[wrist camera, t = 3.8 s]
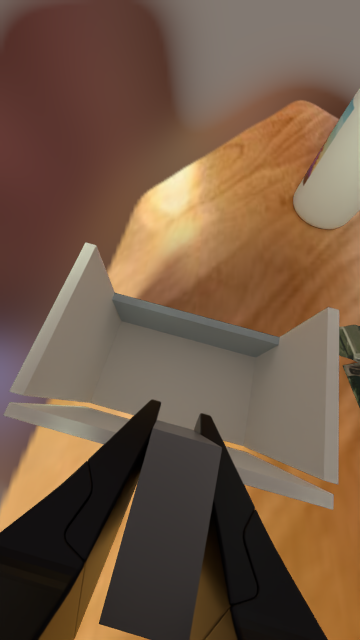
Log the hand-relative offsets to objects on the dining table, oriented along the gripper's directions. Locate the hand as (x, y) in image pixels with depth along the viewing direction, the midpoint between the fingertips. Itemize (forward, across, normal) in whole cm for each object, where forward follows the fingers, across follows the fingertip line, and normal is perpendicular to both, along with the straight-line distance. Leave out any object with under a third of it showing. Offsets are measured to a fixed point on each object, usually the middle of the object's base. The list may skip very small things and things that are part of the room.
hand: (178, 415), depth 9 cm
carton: (+11, 0, +7) cm, 13 cm away
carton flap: (+6, 0, +9) cm, 11 cm away
